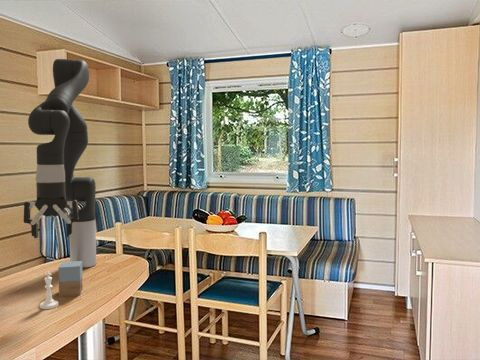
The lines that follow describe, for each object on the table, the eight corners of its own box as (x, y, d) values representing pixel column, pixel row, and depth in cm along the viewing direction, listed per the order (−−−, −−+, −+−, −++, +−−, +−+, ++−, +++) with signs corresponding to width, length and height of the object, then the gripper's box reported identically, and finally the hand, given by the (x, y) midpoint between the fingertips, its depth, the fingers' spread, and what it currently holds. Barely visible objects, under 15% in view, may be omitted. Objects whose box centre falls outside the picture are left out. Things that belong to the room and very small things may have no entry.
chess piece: (43, 302, 121) (42, 268, 120) (61, 302, 121) (60, 268, 120) (36, 309, 116) (35, 274, 115) (55, 309, 116) (54, 273, 116)
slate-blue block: (62, 276, 131) (61, 262, 131) (82, 274, 133) (82, 260, 132) (58, 282, 125) (58, 267, 125) (80, 280, 127) (79, 266, 127)
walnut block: (62, 290, 132) (61, 276, 131) (82, 288, 133) (82, 274, 133) (59, 297, 126) (58, 282, 125) (80, 295, 127) (80, 280, 127)
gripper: (79, 179, 125) (80, 233, 126) (26, 180, 121) (28, 235, 122) (76, 181, 117) (77, 238, 118) (20, 181, 114) (21, 240, 115)
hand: (52, 236), depth 120 cm, fingers open, 8 cm apart
